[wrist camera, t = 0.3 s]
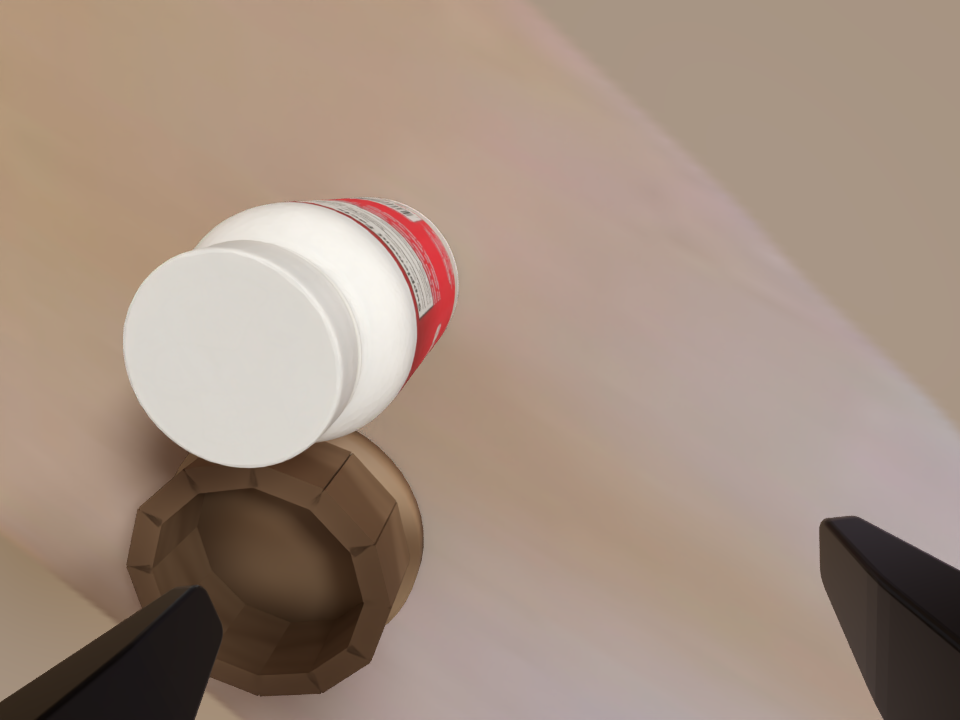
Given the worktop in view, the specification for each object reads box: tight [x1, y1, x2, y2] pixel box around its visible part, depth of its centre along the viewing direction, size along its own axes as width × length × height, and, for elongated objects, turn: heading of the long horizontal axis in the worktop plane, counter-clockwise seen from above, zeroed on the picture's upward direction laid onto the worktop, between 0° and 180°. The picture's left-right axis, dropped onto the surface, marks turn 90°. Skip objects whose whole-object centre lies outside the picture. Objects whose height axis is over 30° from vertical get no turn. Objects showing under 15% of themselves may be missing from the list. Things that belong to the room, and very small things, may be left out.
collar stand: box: [127, 431, 423, 696], centre depth 24 cm, size 11×11×4 cm
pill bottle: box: [123, 197, 459, 468], centre depth 17 cm, size 6×6×11 cm
